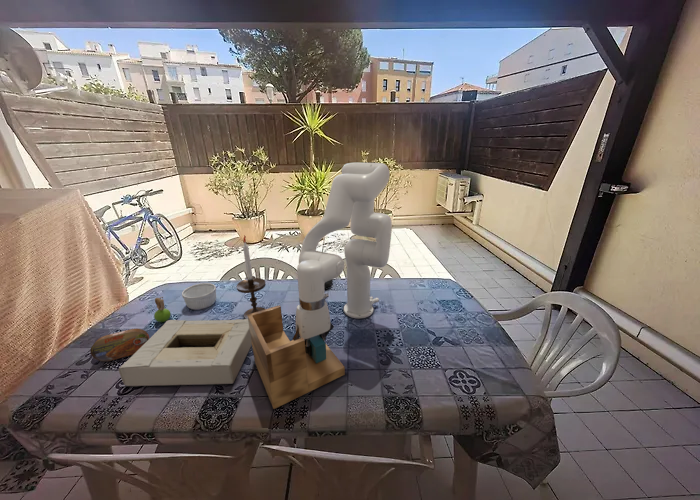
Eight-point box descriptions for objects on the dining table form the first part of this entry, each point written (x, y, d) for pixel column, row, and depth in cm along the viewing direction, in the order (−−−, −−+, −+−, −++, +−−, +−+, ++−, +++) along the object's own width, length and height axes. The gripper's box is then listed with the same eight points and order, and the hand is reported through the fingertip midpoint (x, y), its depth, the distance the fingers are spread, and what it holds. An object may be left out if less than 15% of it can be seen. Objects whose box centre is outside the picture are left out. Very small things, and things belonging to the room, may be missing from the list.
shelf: (316, 338, 98) (314, 294, 92) (344, 374, 82) (344, 325, 76) (254, 362, 87) (247, 314, 81) (273, 409, 71) (266, 354, 65)
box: (258, 333, 101) (170, 335, 100) (255, 316, 98) (165, 317, 97) (236, 385, 79) (123, 388, 78) (232, 365, 77) (115, 367, 75)
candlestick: (273, 316, 111) (263, 235, 99) (246, 326, 105) (232, 240, 93) (263, 305, 119) (253, 228, 107) (238, 313, 113) (224, 233, 101)
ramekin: (223, 302, 121) (220, 289, 119) (192, 315, 112) (188, 300, 110) (210, 293, 130) (208, 280, 127) (180, 304, 120) (177, 290, 118)
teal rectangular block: (314, 342, 91) (313, 327, 89) (326, 359, 84) (325, 343, 82) (304, 346, 89) (303, 331, 87) (316, 363, 82) (315, 347, 80)
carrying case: (300, 289, 132) (329, 291, 131) (299, 284, 131) (329, 285, 130) (305, 279, 142) (333, 281, 141) (305, 274, 141) (333, 276, 140)
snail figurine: (161, 327, 105) (153, 300, 100) (153, 322, 108) (145, 295, 104) (176, 320, 109) (169, 294, 105) (167, 315, 112) (160, 290, 108)
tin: (94, 365, 86) (85, 343, 83) (98, 358, 89) (89, 337, 86) (151, 349, 93) (144, 329, 90) (152, 344, 96) (146, 324, 93)
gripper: (330, 288, 87) (332, 336, 94) (280, 303, 79) (286, 354, 85) (342, 299, 81) (343, 348, 88) (289, 315, 73) (294, 369, 79)
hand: (315, 350), depth 86 cm, fingers closed on teal rectangular block, 3 cm apart
